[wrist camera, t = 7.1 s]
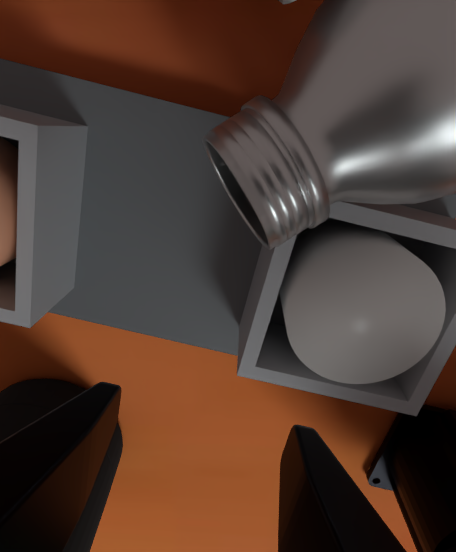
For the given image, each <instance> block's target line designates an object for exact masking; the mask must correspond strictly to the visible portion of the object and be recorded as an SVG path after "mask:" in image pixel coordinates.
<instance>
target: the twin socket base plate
mask: <svg viewBox="0 0 456 552" xmlns="http://www.w3.org/2000/svg"><path fill="white" fill-rule="evenodd" d="M229 118H231V117H227V116H223V115H219V114H215V113H211V112H207V111H203V110H199V109H196V108H192V107H188V106H184V105H180V104H176V103H172V102H168V101H164V100H160V99H157V98H153V97H149V96H145V95H141V94H137V93H133V92H129V91H125V90H121V89H117V88H114V87H110V86H106V85H102V84H98V83H94V82H90V81H86V80H82V79H78V78H75V77H71V76H67V75H63V74H59V73H55V72H51V71H47V70H43V69H39V68H35V67H32V66H28V65H24V64H20V63H16V62H12V61H8V60H4V59H0V137H2V138H3V139H5V140H7V141H8V142H10V143H11V144H12V145H14V146H15V147H16V148H17V149H18V150H19V153H18V199H17V246H16V258H15V259H13V260H11V261H9V262H7V263H6V264H4V265H2V266H0V321H1V322H5V323H9V324H14V325H18V326H23V327H27V328H31V327H32V326H33V325H34V324H35V323H36V322H37V321H38V320H39V319H41V318H42V317H43V316H44V315H45V314H46V313H47V312H50V313H55V314H59V315H63V316H68V317H72V318H76V319H81V320H85V321H89V322H94V323H98V324H102V325H107V326H111V327H115V328H120V329H124V330H128V331H133V332H137V333H141V334H146V335H150V336H154V337H159V338H163V339H167V340H172V341H176V342H181V343H185V344H189V345H194V346H198V347H202V348H207V349H211V350H215V351H220V352H224V353H228V354H233V355H237V356H238V364H237V376H242V377H246V378H251V379H255V380H259V381H264V382H268V383H273V384H277V385H281V386H286V387H290V388H294V389H299V390H303V391H308V392H312V393H316V394H321V395H325V396H330V397H334V398H338V399H343V400H347V401H351V402H356V403H360V404H365V405H369V406H373V407H378V408H382V409H387V410H391V411H395V412H400V413H404V414H408V415H413V416H417V415H418V413H419V411H420V409H421V407H422V405H423V404H424V402H425V400H426V398H427V396H428V394H429V393H430V391H431V389H432V387H433V385H434V384H435V382H436V380H437V378H438V376H439V374H440V373H441V371H442V369H443V367H444V365H445V363H446V362H447V360H448V358H449V356H450V354H451V353H452V351H453V349H454V347H455V345H456V220H455V218H456V193H455V194H452V195H448V196H444V197H441V198H437V199H433V200H430V201H426V202H421V203H416V204H369V203H357V202H345V201H338V202H335V203H333V204H331V205H330V214H329V217H328V219H327V220H326V221H330V220H335V219H337V220H341V221H345V222H349V223H353V224H357V225H362V226H366V227H370V228H374V229H378V230H382V231H383V232H385V233H386V234H387V235H389V236H390V237H391V238H393V239H394V240H395V241H397V242H398V243H399V244H401V245H402V246H403V247H405V248H406V249H407V250H408V251H410V252H411V253H412V254H414V255H415V256H416V257H418V258H419V259H420V260H422V261H423V262H424V263H425V264H426V265H427V266H428V267H429V268H430V269H431V270H432V271H433V272H434V274H435V275H436V276H437V278H438V280H439V282H440V284H441V286H442V289H443V292H444V297H445V307H446V312H445V319H444V323H443V327H442V330H441V332H440V334H439V337H438V339H437V340H436V342H435V344H434V345H433V347H432V348H431V349H430V350H429V352H428V353H427V354H426V355H425V356H424V357H423V358H422V359H421V360H420V361H419V362H418V363H416V364H415V365H414V366H412V367H411V368H409V369H408V370H406V371H405V372H403V373H401V374H399V375H397V376H395V377H392V378H389V379H386V380H383V381H379V382H374V383H368V384H347V383H341V382H336V381H333V380H329V379H327V378H325V377H322V376H320V375H318V374H317V373H315V372H313V371H312V370H311V369H309V368H308V367H307V366H306V365H305V364H304V363H303V362H302V361H301V360H300V359H299V358H298V357H297V355H296V354H295V352H294V350H293V349H292V347H291V344H290V342H289V339H288V335H287V330H286V325H285V319H284V314H283V309H282V304H281V298H280V293H279V290H280V287H281V284H282V281H283V277H284V274H285V271H286V268H287V265H288V262H289V259H290V255H291V252H292V249H293V246H294V243H295V240H296V239H297V238H298V237H299V236H300V235H301V234H302V233H304V232H305V231H307V230H308V229H310V228H306V229H305V230H303V231H302V232H300V233H298V234H297V235H295V236H294V237H292V238H291V239H289V240H288V241H286V242H284V243H283V244H281V245H280V246H278V247H274V248H272V249H271V250H268V249H267V248H265V247H264V246H263V245H262V244H261V242H260V241H259V240H258V239H257V238H256V236H255V235H254V234H253V232H252V231H251V230H250V228H249V227H248V225H247V224H246V222H245V221H244V219H243V218H242V216H241V215H240V213H239V212H238V210H237V209H236V207H235V205H234V204H233V202H232V200H231V199H230V197H229V195H228V194H227V192H226V190H225V189H224V187H223V185H222V183H221V181H220V180H219V178H218V176H217V174H216V172H215V170H214V168H213V166H212V164H211V162H210V160H209V157H208V155H207V153H206V150H205V148H204V145H203V141H202V138H203V136H205V135H207V134H208V132H209V131H210V130H212V129H213V128H215V127H216V126H218V125H220V124H221V123H223V122H224V121H226V120H227V119H229ZM326 221H324V222H326ZM322 223H323V222H322Z"/></svg>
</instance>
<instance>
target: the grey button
mask: <svg viewBox="0 0 456 552" xmlns="http://www.w3.org/2000/svg"><path fill="white" fill-rule="evenodd" d="M279 293H280V298H281V304H282V309H283V314H284V319H285V325H286V330H287V335H288V339H289V342H290V344H291V347H292V349H293V350H294V352H295V354H296V355H297V357H298V358H299V359H300V360H301V361H302V362H303V363H304V364H305V365H306V366H307V367H308V368H309V369H311V370H312V371H313V372H315V373H317V374H318V375H320V376H322V377H325V378H327V379H329V380H333V381H336V382H341V383H347V384H368V383H374V382H379V381H383V380H386V379H389V378H392V377H395V376H397V375H399V374H401V373H403V372H405V371H406V370H408V369H409V368H411V367H412V366H414V365H415V364H416V363H418V362H419V361H420V360H421V359H422V358H423V357H424V356H425V355H426V354H427V353H428V352H429V350H430V349H431V348H432V347H433V345H434V344H435V342H436V340H437V339H438V337H439V334H440V332H441V330H442V327H443V323H444V319H445V312H446V307H445V297H444V292H443V289H442V286H441V284H440V282H439V280H438V278H437V276H436V275H435V274H434V272H433V271H432V270H431V269H430V268H429V267H428V266H427V265H426V264H425V263H424V262H423V261H422V260H420V259H419V258H418V257H416V256H415V255H414V254H412V253H411V252H410V251H408V250H407V249H406V248H405V247H403V246H402V245H401V244H399V243H398V242H397V241H395V240H394V239H393V238H391V237H390V236H389V235H387V234H386V233H385V232H383V231H382V230H378V229H374V228H370V227H366V226H362V225H357V224H353V223H349V222H345V221H341V220H337V219H335V220H330V221H326V222H323V223H321V224H319V225H318V226H316V227H315V228H311V229H308V230H307V231H305V232H304V233H302V234H301V235H300V236H299V237H298V238H297V239H296V240H295V243H294V246H293V249H292V252H291V255H290V259H289V262H288V265H287V268H286V271H285V274H284V277H283V281H282V284H281V287H280V290H279Z"/></svg>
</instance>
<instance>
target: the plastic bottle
mask: <svg viewBox="0 0 456 552" xmlns="http://www.w3.org/2000/svg"><path fill="white" fill-rule="evenodd" d="M202 141H203V145H204V148H205V150H206V153H207V155H208V157H209V160H210V162H211V164H212V166H213V168H214V170H215V172H216V174H217V176H218V178H219V180H220V181H221V183H222V185H223V187H224V189H225V190H226V192H227V194H228V195H229V197H230V199H231V200H232V202H233V204H234V205H235V207H236V209H237V210H238V212H239V213H240V215H241V216H242V218H243V219H244V221H245V222H246V224H247V225H248V227H249V228H250V230H251V231H252V232H253V234H254V235H255V236H256V238H257V239H258V240H259V241H260V242H261V244H262V245H263V246H264V247H265V248H267V249H268V250H271V249H272V248H274V247H278V246H280V245H281V244H283V243H284V242H286V241H288V240H289V239H291V238H292V237H294V236H295V235H297V234H298V233H300V232H302V231H303V230H305V229H306V228H310V229H311V228H315V227H316V226H318V225H319V224H321V223H322V222H324V221H326V220H327V219H328V217H329V214H330V205H331V204H333V203H335V202H338V201H345V202H357V203H369V204H416V203H421V202H426V201H430V200H433V199H437V198H441V197H444V196H448V195H452V194H455V193H456V0H325V1H324V2H323V3H322V4H321V5H320V6H319V8H318V9H317V10H316V12H315V14H314V16H313V18H312V20H311V22H310V24H309V26H308V28H307V30H306V32H305V34H304V36H303V38H302V40H301V41H300V43H299V45H298V48H297V50H296V52H295V54H294V57H293V59H292V62H291V64H290V67H289V70H288V72H287V75H286V77H285V80H284V82H283V85H282V87H281V90H280V93H279V94H278V95H277V96H276V97H275V98H274V99H273V100H270V99H269V98H267V97H265V96H262V95H259V96H256V97H254V98H253V99H251V100H250V101H248V102H247V103H245V104H244V105H243V106H242V107H241V111H240V112H238V113H237V114H235V115H234V116H232V117H231V118H229V119H227V120H226V121H224V122H223V123H221V124H220V125H218V126H216V127H215V128H213V129H212V130H210V131H209V132H208V134H207V135H205V136H203V138H202Z"/></svg>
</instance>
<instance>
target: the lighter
mask: <svg viewBox="0 0 456 552" xmlns="http://www.w3.org/2000/svg"><path fill="white" fill-rule="evenodd" d="M278 1H280V2H281V3H282V4H283V5H284V4H288V3H291V2H294V1H295V0H278Z"/></svg>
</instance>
